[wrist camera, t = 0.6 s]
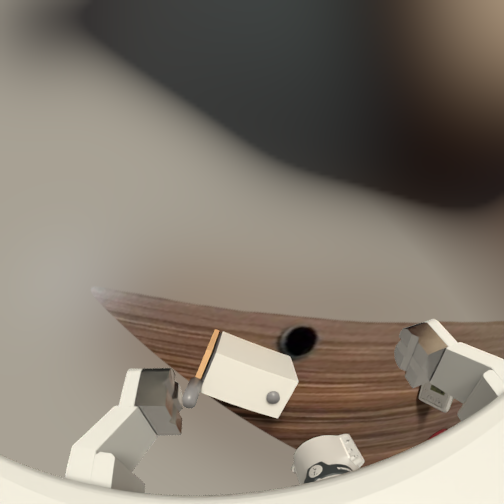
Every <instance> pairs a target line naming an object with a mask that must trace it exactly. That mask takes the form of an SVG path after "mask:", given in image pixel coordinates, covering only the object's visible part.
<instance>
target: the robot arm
mask: <svg viewBox="0 0 504 504" xmlns="http://www.w3.org/2000/svg"><path fill="white" fill-rule="evenodd" d="M399 338H400V339H401V341H400V342H399V343H398V344H397V345H396V348H395V352H394V353H395V360H396V363H397V365H398V366H399V368H400V369H402V370H404V371H405V377H406V379H407V380H408V382H409V384H410V385H411V387H412V388H415V387H417V386H420V385H422V384H425V383H427V382H430V383H431V384H432V385H434V386H436V387H437V388H439V389H440V390H442V391H444V392H445V393H447V394H449V395H450V396H452V397H453V398H455V399H457V400H458V401H460V402H461V403H463V405H462V407H461V408H460V410H459V411H458V414H457V415H458V417H459V418H460V420H461V422H460V423H458V424H456V425H455V426H453V427H451V428H449V429H448V430H446V431H444V432H442V433H440V434H439V435H437V436H435V437H433V438H431V439H429V440H427V441H425V442H423V443H421V444H419V445H417V446H415V447H413V448H410V449H408V450H406V451H404V452H401V453H399V454H397V455H394V456H392V457H390V458H387V459H385V460H382V461H379V462H377V463H374V464H371V465H368V466H366V467H363V468H360V467H361V466H362V464H363V463H364V459H363V457H362V455H361V453H360V452H359V450H358V448H357V446H356V445H355V443H354V441H353V440H352V438H351V436H350V435H349V434H342V435H338V436H333V435H324V436H319V437H315V438H312V439H310V440H308V441H306V442H305V443H303V444H302V445H301V446H300V447H299V448H298V449H297V450H296V452H295V454H294V464H293V465H292V467H291V470H292V472H293V473H296V474H297V477H298V481H299V484H300V485H296V486H291V487H285V488H280V489H273V490H267V491H259V492H251V493H241V494H228V495H205V496H204V495H203V496H185V495H183V496H182V495H162V494H149V493H145V484H144V483H143V481H142V480H141V479H139V478H138V477H137V476H136V475H135V474H133V473H132V471H133V470H134V469H135V467H136V466H137V465H138V463H139V462H140V461H141V459H142V458H143V456H144V455H145V454H146V452H147V451H148V449H149V448H150V447H151V445H152V444H153V442H154V441H155V440H156V438H157V435H181V429H182V418H181V416H180V414H179V412H180V411H181V409H182V407H183V400H182V392H181V388H180V385H179V383H177V382H175V373H174V371H173V369H172V368H155V369H154V368H153V369H129V370H128V372H127V374H126V378H125V382H124V386H123V389H122V394H121V398H120V402H119V406H114V407H113V408H112V409H111V410H110V411H109V412H108V413H107V414H106V415H105V416H103V417H102V419H100V420H99V421H98V422H97V423H96V424H95V425H94V426H93V427H92V428H91V429H90V430H89V431H88V432H87V433H86V434H84V436H82V437H81V438H80V439H79V440H78V441H77V442H76V443H75V444H74V445H73V446H72V449H71V453H70V457H69V461H68V466H67V470H66V475H65V478H63V477H59V476H56V475H52V474H49V473H46V472H43V471H40V470H37V469H35V468H32V467H29V466H27V465H24V464H21V463H19V462H17V461H14V460H12V459H9V458H7V457H5V456H3V455H0V504H504V359H502V358H499V357H497V356H494V355H492V354H489V353H487V352H484V351H482V350H479V349H477V348H474V347H472V346H469V345H467V344H464V343H462V342H459V343H457V341H456V340H455V339H454V338H453V337H452V336H451V335H450V334H449V333H448V332H447V330H446V329H445V328H444V327H443V326H442V325H441V324H440V323H439V322H438V321H437V320H435V319H432V320H428V321H425V322H423V323H419V324H416V325H413V326H410V327H406V328H403V329H402V331H401V332H400V335H399ZM359 468H360V469H359Z"/></svg>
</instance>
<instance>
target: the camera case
mask: <svg viewBox="0 0 504 504" xmlns="http://www.w3.org/2000/svg"><path fill="white" fill-rule="evenodd" d="M201 381H202V387H201V390H200V392H201V393H203V394H206V395H208V396H211V397H214V398H216V399H219V400H222V401H224V402H227V403H230V404H233V405H236V406H239V407H242V408H245V409H248V410H251V411H254V412H257V413H261V414H264V415H267V416H271V417H274V418H278V417H279V415H280V414H281V412H282V410H283V409H284V407H285V405H286V403H287V402H288V400H289V398H290V396H291V395H292V393H293V391H294V389H295V387H296V386H297V384H298V379H297V375H296V372H295V369H294V366H293V363H292V360H291V357H290V356H287V355H284V354H281V353H278V352H276V351H273V350H270V349H267V348H265V347H262V346H259V345H257V344H254V343H251V342H249V341H246V340H243V339H241V338H238V337H236V336H233V335H231V334H228V333H226V332H223V333H220V335H219V337H218V340H217V342H216V345H215V347H214V349H213V352H212V354H211V357H210V359H209V361H208V364H207V366H206V369H205V372H204V375H203V377H202V380H201Z"/></svg>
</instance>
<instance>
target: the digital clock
mask: <svg viewBox="0 0 504 504" xmlns="http://www.w3.org/2000/svg"><path fill="white" fill-rule="evenodd" d="M453 399H454V398H453V397H452V396H450V395H449V394H447V393H445V392H444V391H442V390H440V389H439V388H437V387H436V386H434V385H432V384H431V383H430V382H427V383H425V384H422V385H421V390H420V393H419V400H421V401H422V402H424V403H426V404H428V405H430V406H432V407H434V408H436V409H438V410H440V411H442V412H445V413H446V412H448V410H449V409H450V406H451V403H452V401H453Z"/></svg>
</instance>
